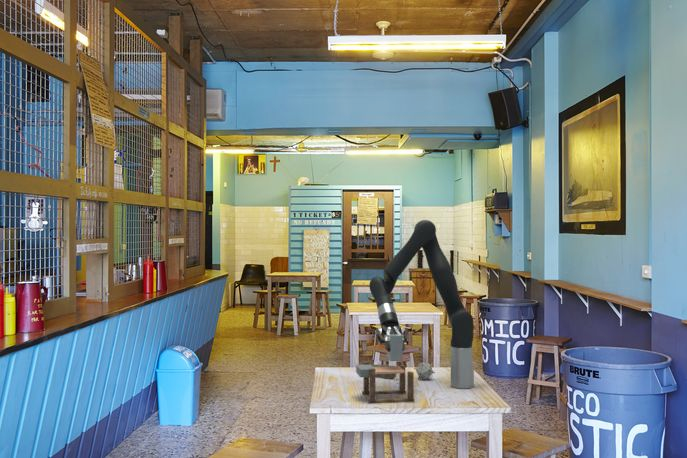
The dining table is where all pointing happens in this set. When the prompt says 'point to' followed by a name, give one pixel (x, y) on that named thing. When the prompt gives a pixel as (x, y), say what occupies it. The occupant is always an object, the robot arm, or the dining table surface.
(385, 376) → the marble piece
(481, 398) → the dining table surface
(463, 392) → the dining table surface
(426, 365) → the game die
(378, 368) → the trapdoor
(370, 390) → the frame
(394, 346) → the slate block
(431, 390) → the dining table surface
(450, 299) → the robot arm
